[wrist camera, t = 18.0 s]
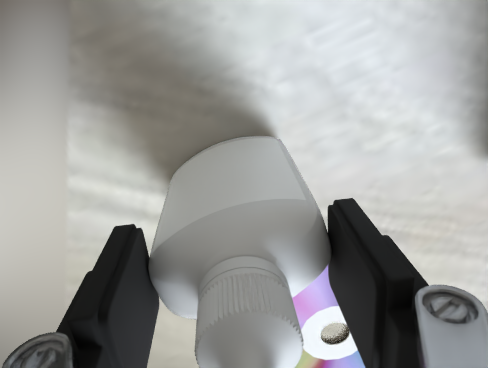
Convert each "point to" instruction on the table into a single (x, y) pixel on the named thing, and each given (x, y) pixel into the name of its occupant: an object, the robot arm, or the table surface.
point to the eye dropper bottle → (240, 252)
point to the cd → (312, 323)
